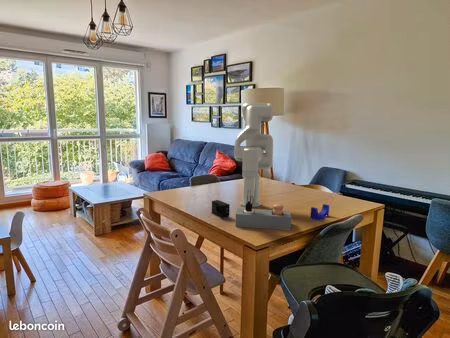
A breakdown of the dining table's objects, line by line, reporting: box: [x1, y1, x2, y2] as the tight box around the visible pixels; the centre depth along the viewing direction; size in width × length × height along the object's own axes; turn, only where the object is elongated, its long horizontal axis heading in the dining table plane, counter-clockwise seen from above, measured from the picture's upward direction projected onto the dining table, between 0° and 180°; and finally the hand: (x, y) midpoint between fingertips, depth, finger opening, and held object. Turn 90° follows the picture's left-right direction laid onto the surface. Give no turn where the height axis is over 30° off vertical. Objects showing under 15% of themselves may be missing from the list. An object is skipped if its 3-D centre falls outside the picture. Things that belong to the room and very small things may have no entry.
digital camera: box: [211, 199, 231, 219], centre depth 161 cm, size 10×5×7 cm, turn 37°
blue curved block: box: [309, 203, 330, 221], centre depth 161 cm, size 12×4×6 cm, turn 128°
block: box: [234, 207, 292, 231], centre depth 148 cm, size 10×26×6 cm, turn 83°
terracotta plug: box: [272, 203, 284, 215], centre depth 147 cm, size 5×5×6 cm
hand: (248, 210), depth 148 cm, fingers closed
